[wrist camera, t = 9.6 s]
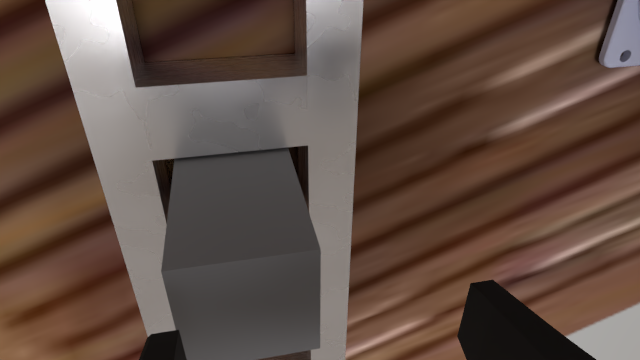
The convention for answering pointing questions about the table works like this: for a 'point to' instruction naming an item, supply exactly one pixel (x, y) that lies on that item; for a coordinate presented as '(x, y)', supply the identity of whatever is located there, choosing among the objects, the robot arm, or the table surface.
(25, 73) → the table surface
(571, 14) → the table surface
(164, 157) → the hole rail
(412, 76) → the table surface
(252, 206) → the square peg
